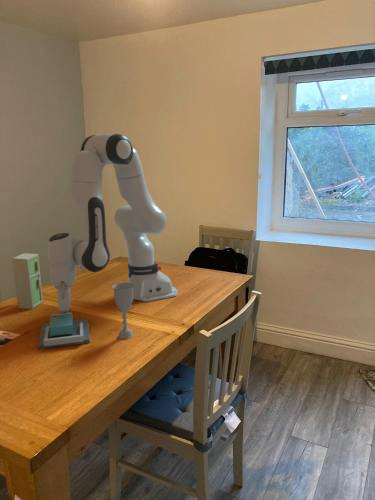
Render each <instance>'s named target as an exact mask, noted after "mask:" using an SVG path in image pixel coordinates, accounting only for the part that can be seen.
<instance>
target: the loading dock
mask: <svg viewBox="0 0 375 500" xmlns="http://www.w3.org/2000/svg"><path fill="white" fill-rule="evenodd" d="M49 325H50V322H47V323H45V322H44V323H42V326H41V329H40V333H39V340H38V342H37V349H38V350H41V349H42V350H43V349H44V350H45V349H49V348H50V349H51V348H52V349H53V348H58V347H66V346H74V345H82V344H90V343H91V342H90V327H89V318H82V319H81V318H80V319H73V334H72V336H68V334H64V335H56V337H55V338H51V336H50V332H49Z"/></svg>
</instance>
